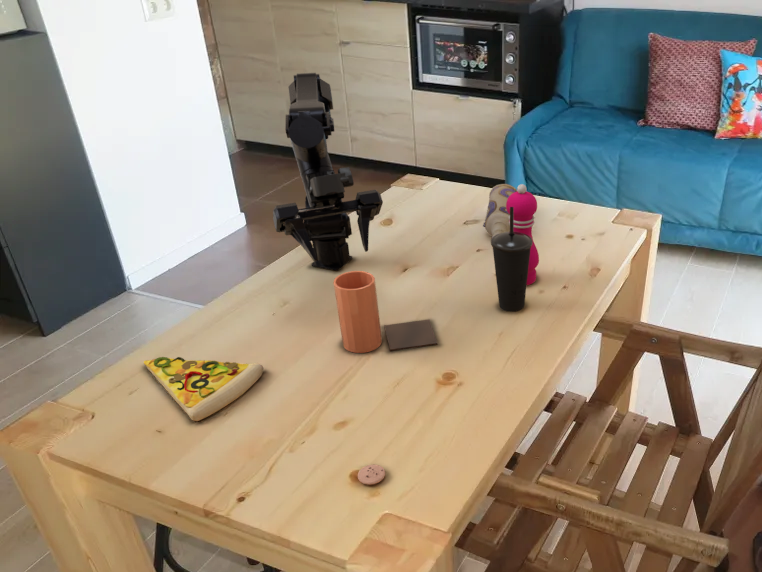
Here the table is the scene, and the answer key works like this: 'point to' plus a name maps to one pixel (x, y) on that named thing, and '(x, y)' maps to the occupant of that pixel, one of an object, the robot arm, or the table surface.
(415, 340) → the walnut coaster
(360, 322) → the peach cup
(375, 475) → the cookie
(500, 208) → the decorative bottle
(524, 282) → the drinking cup
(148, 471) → the table surface
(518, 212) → the pepper mill
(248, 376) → the pizza slice
